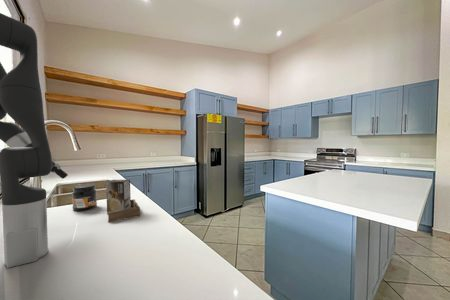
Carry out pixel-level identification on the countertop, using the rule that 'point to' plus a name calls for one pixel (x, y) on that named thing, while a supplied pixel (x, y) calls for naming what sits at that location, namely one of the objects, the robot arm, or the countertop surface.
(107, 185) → the coffee box
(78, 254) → the countertop surface
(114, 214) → the walnut pen
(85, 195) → the supplement container
